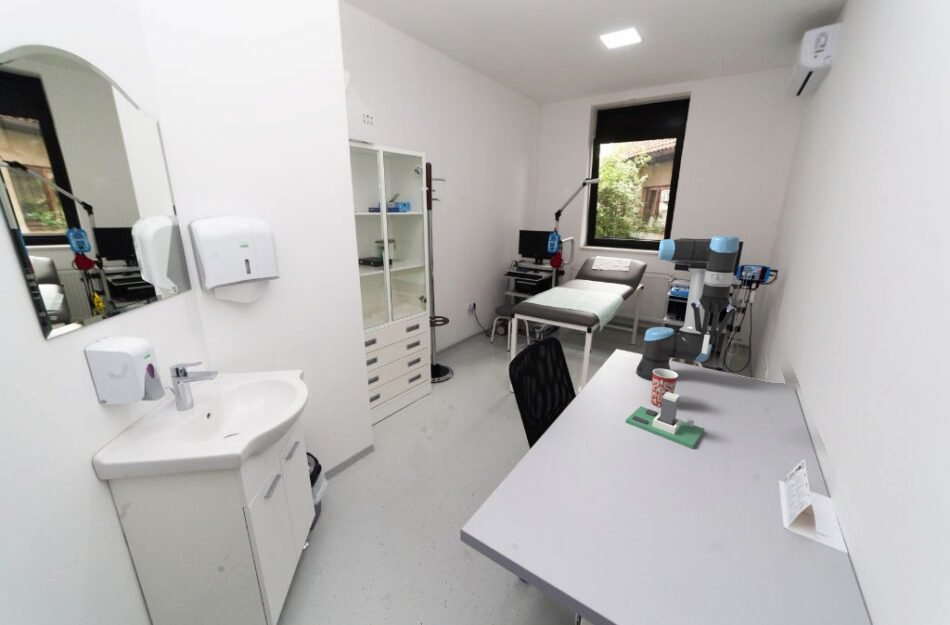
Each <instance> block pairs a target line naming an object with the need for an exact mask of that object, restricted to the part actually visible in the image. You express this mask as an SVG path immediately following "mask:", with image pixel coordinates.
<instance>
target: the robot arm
mask: <svg viewBox="0 0 950 625" xmlns="http://www.w3.org/2000/svg"><path fill="white" fill-rule="evenodd" d="M739 245H740V237H738V236H734V235H733V236H730V235H714V236H713V237H712V238H686V237H685V238H677V239H675V238H674V239H673V238H668V239H665V238H664V239H662V240H660V242H659V248H658V249H659V250H658V260H660V261H666V262H669V263H672V264H675V265H682V266H683V265H684V266H688V271H689V272H690V273H691V277H690V283H689V290H688V297H687V303H686V310H685V317H684V324H683V326H682V327H680V328H679V329H678V331H679V332H675V330H674V329H673V328H671V327H665V326H656V327H655V326H654V327H650V328H648V329H646V331H645V334H644V337H643V338H644V339H643V341H644V342H643V349H642V355H641V356H642V357H641V359H640V361H639V363H638V365H637V366H636V371H635V374H636V375H637V376H638V377H639V378H641V379H644V380H647V381H651V382H652V380H653V370H654V369H667V370H671V365H670V359H671V358H672V359H677V360H686V361H690V362H697V363H703V362H705V361H706V360H707V359H708V358H709V356H710V353H711V350H712V346H713V345H714V342H715V339H716V336H720V335H722V334H723V333H724V330H725V329H726V327H727V325H728V323H729V321H730V319H731V317H732V316H733V314H734V313H735V312H736V311H737V310H738V309H737V308H736V307H734V306H732V305H731V303H730V293H731V290H732V287H731V285H732V284H733V283H732V282H733V278H734V274H735V273H734V271H735V267H736V261H737V256H738V251H739V249H740V246H739ZM724 310H726V312H727V313H726V314H725V316H724V318H723V319H722V321H721V323H720V325H719V324H718V323H719V318H720V314H721V312H723V311H724ZM711 313H712V321H711V325H710V326H711V327H710V332H709V330H708V329H709V324H710V323H709V322H710V318H711ZM718 325H719V327H718ZM717 329H718V330H717ZM671 371H672V370H671Z"/></svg>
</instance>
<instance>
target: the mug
mask: <svg viewBox="0 0 950 625" xmlns="http://www.w3.org/2000/svg"><path fill="white" fill-rule="evenodd" d="M678 378H679V373H677V372H675V371H673V370H667V369H654V370H653V380H652V381H651V382H652V383H651V392H650V393H651V395H650V403H651V404H652V405H654V406H655V407H658V408H661V406H662V400H663V395H664V394H665V393H666V392H670V393H673V394H675V388H676V384H677V380H678Z"/></svg>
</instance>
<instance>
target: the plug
mask: <svg viewBox="0 0 950 625" xmlns="http://www.w3.org/2000/svg"><path fill="white" fill-rule="evenodd" d="M679 400H680V395H679V394H676V393H670V392H666V393H665V394H664V395H663V400H662V406H661V407H660V412H659V413H660V419H659V421H661V422H664V423H666V424H669V425H672V426H674V425H675V419H676V418H677V412H678V405H679Z"/></svg>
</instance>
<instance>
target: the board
mask: <svg viewBox="0 0 950 625" xmlns="http://www.w3.org/2000/svg"><path fill="white" fill-rule="evenodd" d="M660 413H661V412H658V411H656V410H653V409H649V408H647V407H644V406H642V405H641V406H639V407H638V408H637V409H635V411H634V412H633V413H631V415H629V416H628V417H627V418H626V419H625V423H626V424H628V425H631V426H633V427H636V428H638V429H641V430H643V431H646V432H648V433H651V434H653V435H656V436H658V437H659V436H660V437H662V438H665V439H666V440H669V441H672V442H675V443H677V444H679V445H682V446H685V447H687V448H689V449H694V447H695V446H696V444H697V443H698V441H699V440H700V439H701V436H703V434H704V432H705V428H704V427H701V426H699V425H696V424H695V421H694V420H693V419H690V418H689V419H688V418H687V421H684V420H682V419H680V418H677V417H676V419H675V425H674V426H672V425H669V424H666V423H664V422H661V421H659V419H660Z"/></svg>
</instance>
